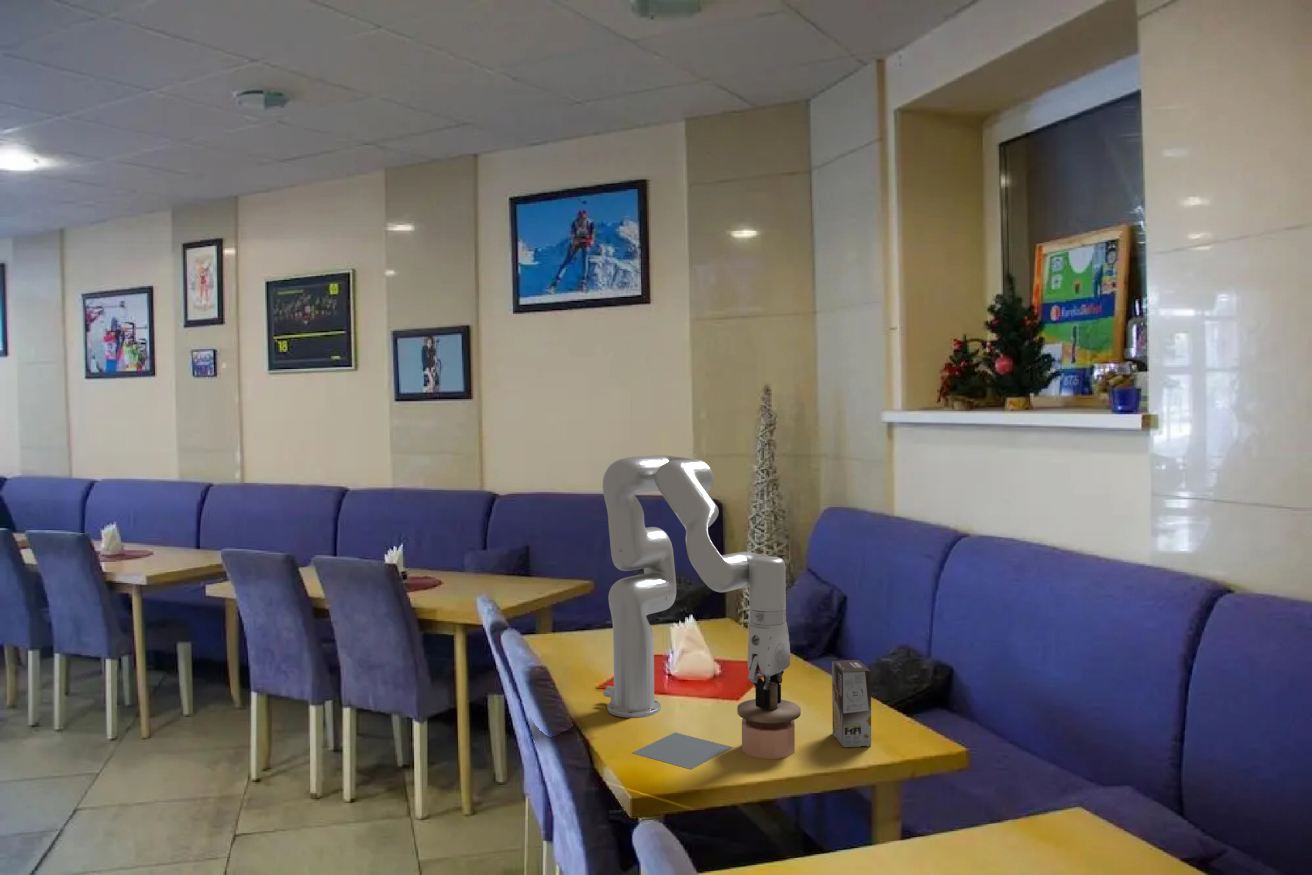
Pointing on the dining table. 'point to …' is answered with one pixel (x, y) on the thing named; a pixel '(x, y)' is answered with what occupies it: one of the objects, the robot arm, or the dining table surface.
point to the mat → (682, 750)
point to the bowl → (768, 739)
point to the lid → (772, 715)
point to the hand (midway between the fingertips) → (768, 703)
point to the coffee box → (851, 703)
